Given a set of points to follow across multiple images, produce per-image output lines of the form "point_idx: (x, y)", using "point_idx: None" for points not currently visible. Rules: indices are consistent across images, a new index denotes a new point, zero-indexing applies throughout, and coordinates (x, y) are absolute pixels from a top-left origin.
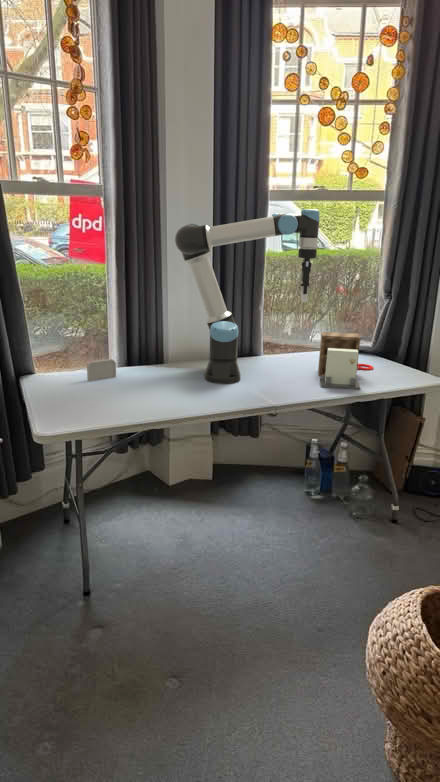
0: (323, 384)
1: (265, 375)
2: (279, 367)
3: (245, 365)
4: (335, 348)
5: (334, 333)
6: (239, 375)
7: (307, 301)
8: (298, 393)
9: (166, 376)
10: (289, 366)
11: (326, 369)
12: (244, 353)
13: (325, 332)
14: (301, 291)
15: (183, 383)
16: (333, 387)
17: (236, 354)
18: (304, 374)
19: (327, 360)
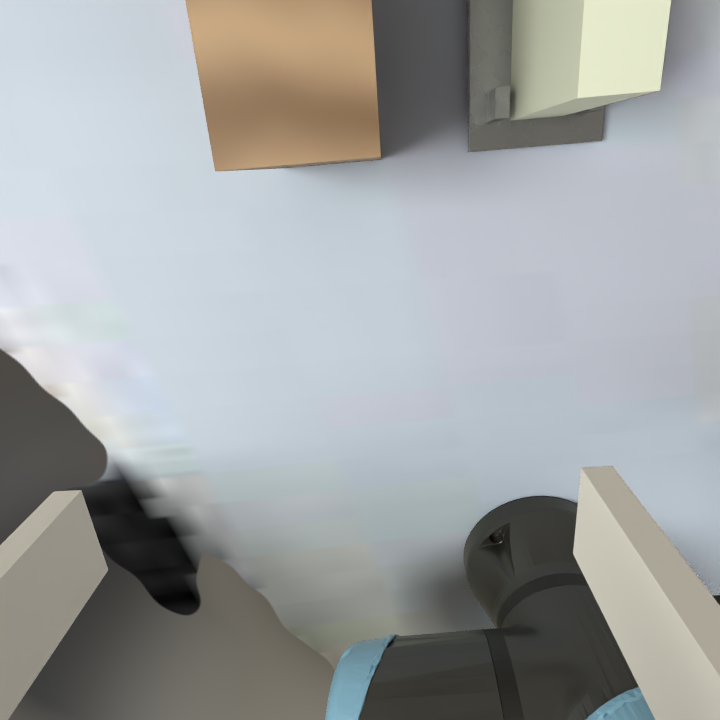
0: (591, 125)
1: (445, 412)
2: (291, 366)
3: (312, 502)
4: (584, 24)
5: (244, 34)
6: (561, 512)
7: (616, 473)
8: (710, 248)
9: None
10: (254, 322)
11: (585, 108)
12: (115, 527)
13: (235, 131)
14: (55, 639)
15: None
16: None
17: (590, 597)
18: (377, 239)
19: (620, 100)
